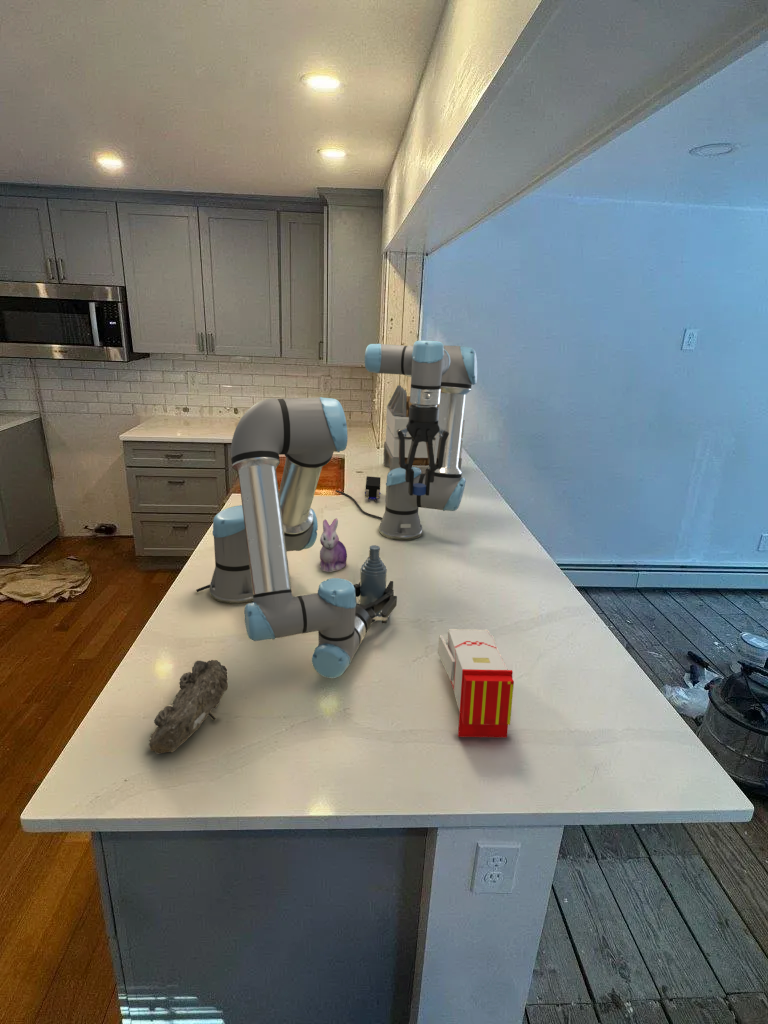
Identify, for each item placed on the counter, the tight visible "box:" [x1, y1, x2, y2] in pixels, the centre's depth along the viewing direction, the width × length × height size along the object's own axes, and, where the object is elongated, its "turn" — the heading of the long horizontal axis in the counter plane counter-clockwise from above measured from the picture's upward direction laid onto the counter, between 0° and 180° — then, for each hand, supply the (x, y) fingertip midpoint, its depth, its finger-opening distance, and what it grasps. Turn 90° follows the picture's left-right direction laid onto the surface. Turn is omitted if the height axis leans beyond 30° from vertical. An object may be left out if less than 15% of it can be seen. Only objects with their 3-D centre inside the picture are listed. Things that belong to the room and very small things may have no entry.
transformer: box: [383, 384, 465, 472], centre depth 268 cm, size 34×33×41 cm
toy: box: [437, 628, 515, 738], centre depth 117 cm, size 12×13×30 cm
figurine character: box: [364, 475, 381, 503], centre depth 235 cm, size 7×8×15 cm
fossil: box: [148, 659, 229, 754], centre depth 106 cm, size 22×10×15 cm
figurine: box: [319, 518, 348, 573], centre depth 170 cm, size 9×10×15 cm
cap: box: [413, 483, 426, 495], centre depth 150 cm, size 4×4×2 cm
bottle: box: [358, 544, 388, 615], centre depth 144 cm, size 7×7×19 cm
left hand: (377, 583), depth 149 cm, fingers closed on bottle, 7 cm apart
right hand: (418, 493), depth 150 cm, fingers closed on cap, 4 cm apart
